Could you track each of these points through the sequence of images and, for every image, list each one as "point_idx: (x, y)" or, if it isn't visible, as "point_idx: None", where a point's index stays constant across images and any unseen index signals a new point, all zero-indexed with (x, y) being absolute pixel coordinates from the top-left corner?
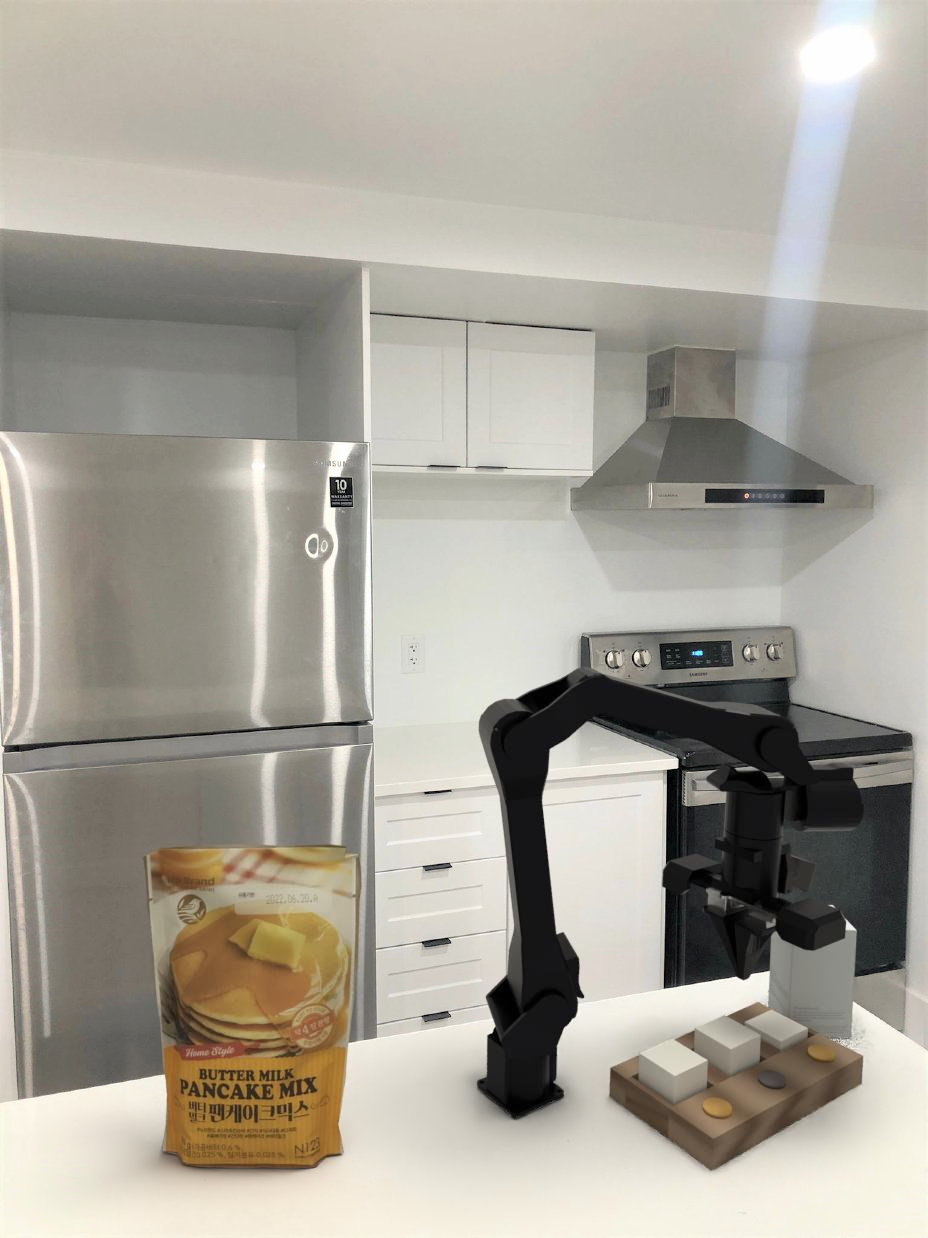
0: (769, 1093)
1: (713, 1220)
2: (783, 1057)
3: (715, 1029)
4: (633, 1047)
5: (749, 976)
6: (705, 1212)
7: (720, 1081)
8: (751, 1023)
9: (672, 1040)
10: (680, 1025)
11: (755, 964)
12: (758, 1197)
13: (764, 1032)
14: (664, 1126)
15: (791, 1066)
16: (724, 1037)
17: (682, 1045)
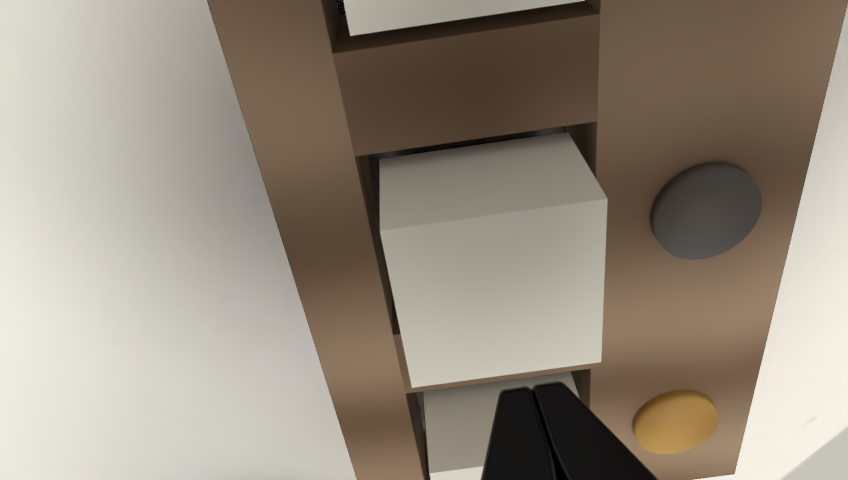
0: (734, 259)
1: (778, 464)
2: (635, 45)
3: (459, 332)
4: (174, 308)
5: (567, 391)
6: (756, 465)
7: None
8: (379, 14)
9: (439, 476)
10: (61, 83)
11: (638, 463)
12: (814, 378)
13: (478, 14)
14: None
15: (701, 67)
16: (527, 337)
17: (482, 468)
